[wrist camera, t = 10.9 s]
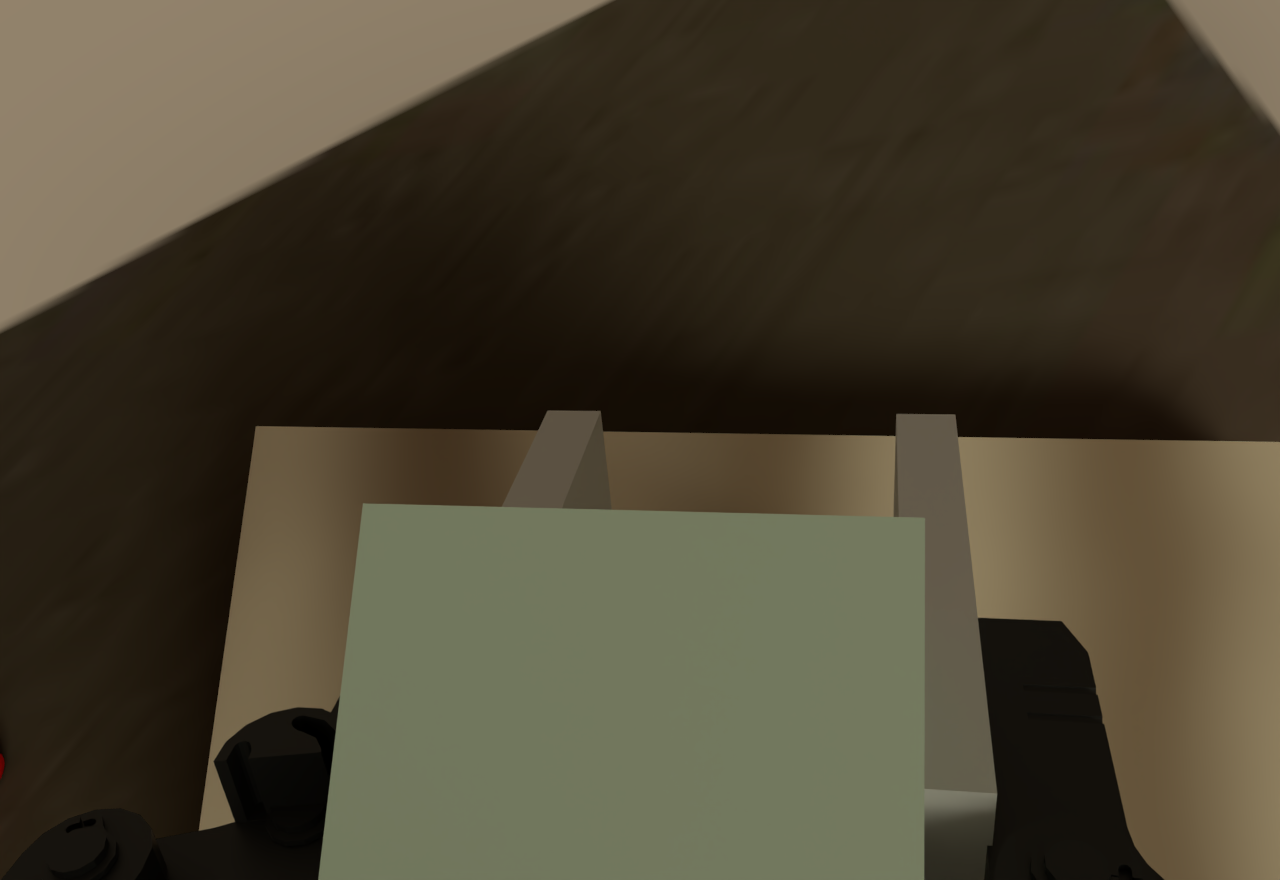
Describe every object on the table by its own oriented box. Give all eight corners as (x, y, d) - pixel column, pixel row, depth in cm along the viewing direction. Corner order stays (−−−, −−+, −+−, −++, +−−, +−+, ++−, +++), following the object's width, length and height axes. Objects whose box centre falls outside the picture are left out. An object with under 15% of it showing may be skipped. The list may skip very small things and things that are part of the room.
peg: (631, 898, 19) (291, 1107, 8) (645, 646, 20) (363, 502, 9) (885, 921, 18) (922, 1188, 7) (888, 658, 19) (924, 517, 8)
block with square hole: (245, 1025, 25) (166, 1060, 22) (317, 459, 28) (255, 425, 25) (1291, 1141, 21) (1360, 1202, 18) (1249, 478, 24) (1302, 442, 21)
